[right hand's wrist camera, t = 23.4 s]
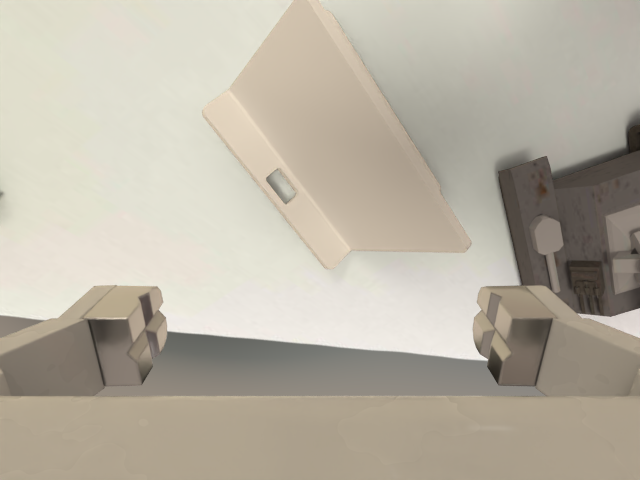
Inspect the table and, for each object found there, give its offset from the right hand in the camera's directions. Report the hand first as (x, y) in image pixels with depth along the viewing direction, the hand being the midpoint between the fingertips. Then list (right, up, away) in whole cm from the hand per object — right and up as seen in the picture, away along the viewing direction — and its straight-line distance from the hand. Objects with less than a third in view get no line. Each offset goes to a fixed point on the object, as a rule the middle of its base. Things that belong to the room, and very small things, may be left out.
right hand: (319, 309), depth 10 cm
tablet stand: (+1, +13, +39) cm, 41 cm away
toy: (+35, +4, +42) cm, 55 cm away
